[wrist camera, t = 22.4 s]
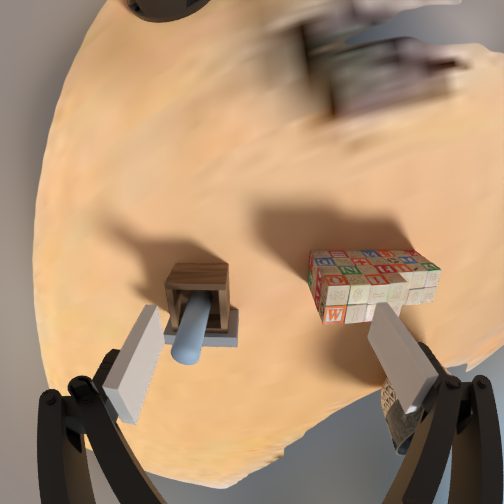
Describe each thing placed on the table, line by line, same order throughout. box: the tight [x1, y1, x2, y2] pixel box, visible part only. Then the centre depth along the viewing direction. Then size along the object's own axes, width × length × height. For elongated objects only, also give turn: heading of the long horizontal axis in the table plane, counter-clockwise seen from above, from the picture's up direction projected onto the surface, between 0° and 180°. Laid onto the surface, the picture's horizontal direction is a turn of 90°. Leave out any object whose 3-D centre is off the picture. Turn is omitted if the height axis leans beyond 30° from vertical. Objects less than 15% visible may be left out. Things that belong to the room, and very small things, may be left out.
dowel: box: [171, 290, 212, 365], centre depth 38 cm, size 4×4×14 cm
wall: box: [163, 310, 239, 347], centre depth 45 cm, size 2×12×8 cm, turn 89°
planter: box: [381, 363, 451, 456], centre depth 47 cm, size 20×20×21 cm
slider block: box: [165, 264, 230, 334], centre depth 44 cm, size 9×9×7 cm
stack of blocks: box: [308, 250, 441, 325], centre depth 40 cm, size 21×6×12 cm, turn 91°
